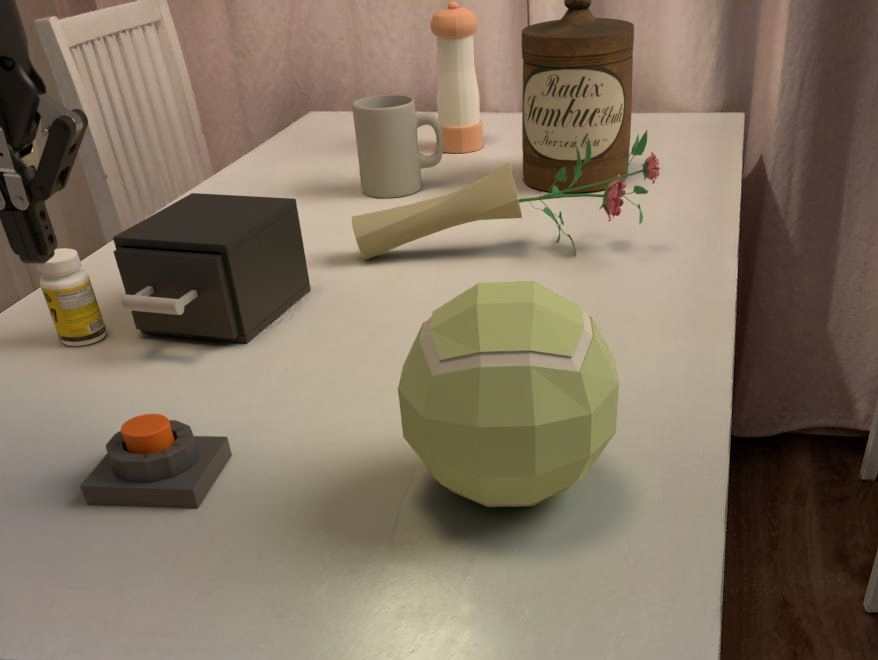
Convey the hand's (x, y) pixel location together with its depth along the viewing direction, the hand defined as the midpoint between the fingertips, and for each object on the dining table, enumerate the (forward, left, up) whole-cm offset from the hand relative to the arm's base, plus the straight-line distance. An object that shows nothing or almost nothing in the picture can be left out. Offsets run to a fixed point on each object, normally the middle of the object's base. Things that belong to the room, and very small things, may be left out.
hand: (39, 259), depth 66 cm
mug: (+11, +75, -16) cm, 77 cm away
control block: (+6, -3, -16) cm, 17 cm away
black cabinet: (0, +31, -16) cm, 35 cm away
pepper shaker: (+16, +97, -16) cm, 99 cm away
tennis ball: (+34, -3, -16) cm, 38 cm away
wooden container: (+35, +79, -16) cm, 88 cm away
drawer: (-1, +27, -15) cm, 31 cm away
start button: (+6, -3, -13) cm, 15 cm away
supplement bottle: (-13, +24, -16) cm, 32 cm away
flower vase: (+28, +49, -16) cm, 59 cm away
